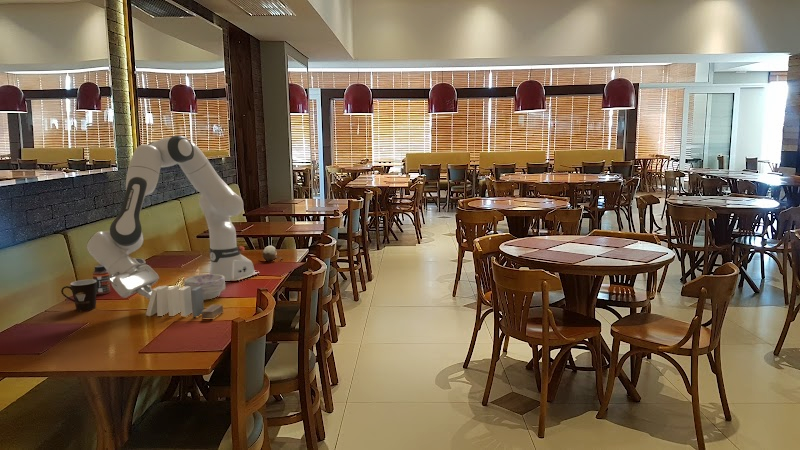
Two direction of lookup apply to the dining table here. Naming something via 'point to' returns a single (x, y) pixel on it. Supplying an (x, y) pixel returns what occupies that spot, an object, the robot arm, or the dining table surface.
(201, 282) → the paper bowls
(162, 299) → the domino
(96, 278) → the supplement bottle
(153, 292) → the domino
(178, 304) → the domino
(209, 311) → the end block
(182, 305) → the domino
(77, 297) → the coffee mug
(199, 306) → the domino
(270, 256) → the skull
